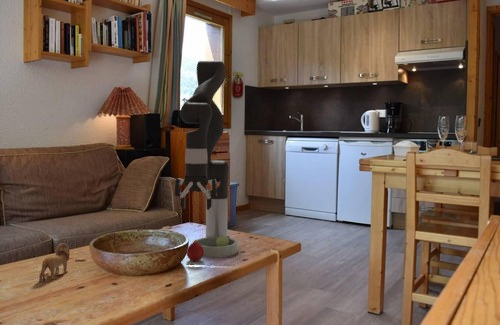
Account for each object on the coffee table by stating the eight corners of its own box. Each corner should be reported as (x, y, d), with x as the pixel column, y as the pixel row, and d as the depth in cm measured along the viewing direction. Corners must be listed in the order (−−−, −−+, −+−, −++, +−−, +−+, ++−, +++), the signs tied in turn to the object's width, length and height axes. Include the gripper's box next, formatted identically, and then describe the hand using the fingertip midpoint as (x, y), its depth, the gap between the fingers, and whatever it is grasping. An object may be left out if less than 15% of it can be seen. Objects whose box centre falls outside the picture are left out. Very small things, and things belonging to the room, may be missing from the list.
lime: (216, 247, 168) (217, 234, 168) (229, 247, 168) (229, 235, 168) (214, 250, 163) (214, 237, 163) (227, 251, 163) (228, 238, 163)
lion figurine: (57, 268, 142) (56, 241, 141) (73, 268, 142) (73, 241, 141) (34, 284, 127) (34, 253, 126) (53, 284, 127) (52, 254, 126)
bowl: (199, 246, 172) (199, 236, 171) (239, 248, 170) (239, 237, 170) (189, 258, 156) (190, 246, 155) (234, 260, 154) (234, 248, 154)
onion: (195, 266, 146) (195, 242, 146) (183, 263, 150) (183, 240, 149) (207, 262, 151) (207, 239, 150) (195, 259, 154) (195, 237, 154)
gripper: (218, 161, 151) (218, 207, 152) (178, 160, 152) (178, 206, 153) (215, 163, 143) (214, 211, 144) (172, 162, 144) (172, 210, 146)
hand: (196, 209), depth 149 cm, fingers open, 8 cm apart
